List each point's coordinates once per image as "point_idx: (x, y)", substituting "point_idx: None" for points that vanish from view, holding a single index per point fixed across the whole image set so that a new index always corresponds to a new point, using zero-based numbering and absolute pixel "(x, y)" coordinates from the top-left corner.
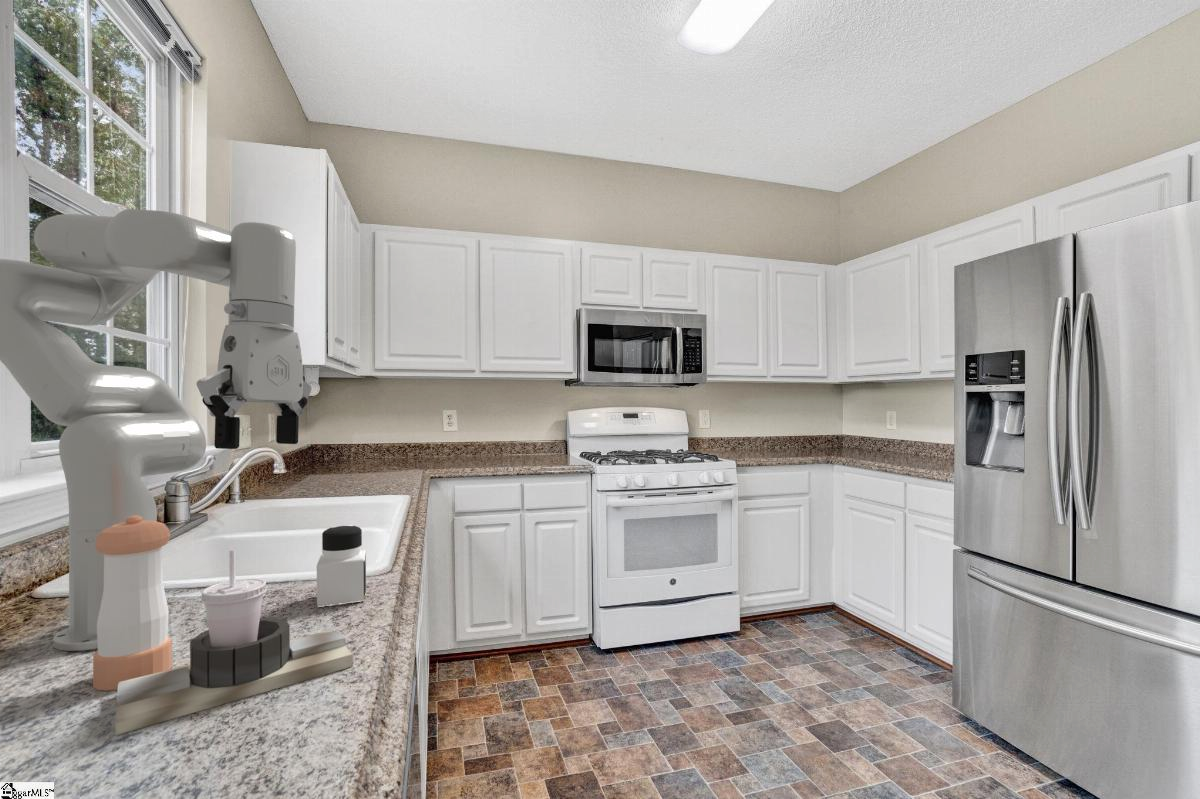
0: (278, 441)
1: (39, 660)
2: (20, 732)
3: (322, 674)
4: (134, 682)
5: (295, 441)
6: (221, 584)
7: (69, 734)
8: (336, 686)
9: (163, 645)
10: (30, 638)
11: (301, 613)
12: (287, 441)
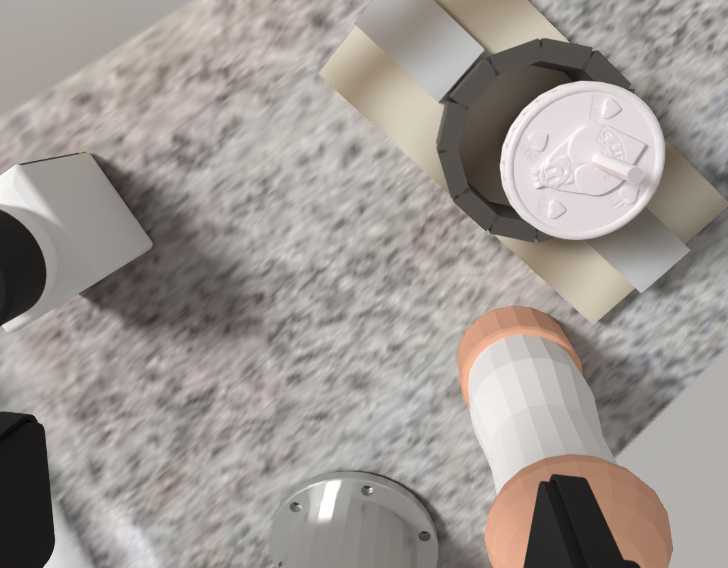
0: (47, 541)
1: (468, 557)
2: (700, 358)
3: None
4: (635, 269)
5: (20, 418)
6: (557, 224)
7: (709, 278)
8: None
9: (515, 329)
10: None
11: (190, 261)
12: (40, 473)
